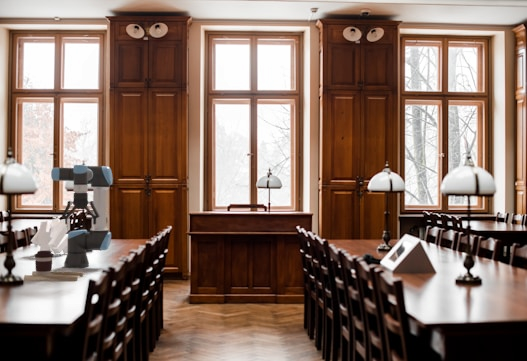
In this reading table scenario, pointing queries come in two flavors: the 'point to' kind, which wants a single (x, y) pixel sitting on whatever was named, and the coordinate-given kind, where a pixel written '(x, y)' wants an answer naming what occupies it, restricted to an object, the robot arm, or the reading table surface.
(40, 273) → the coffee cup
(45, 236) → the white jagged sculpture
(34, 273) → the beech guide rails
